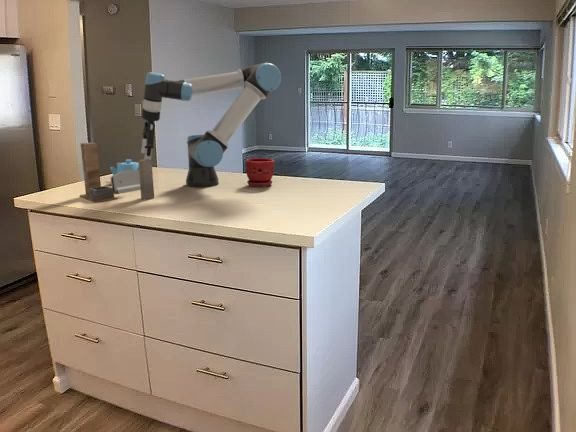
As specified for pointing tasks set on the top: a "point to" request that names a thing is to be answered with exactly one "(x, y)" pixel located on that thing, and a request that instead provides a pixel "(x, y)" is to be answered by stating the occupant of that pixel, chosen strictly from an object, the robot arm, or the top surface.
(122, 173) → the hinge
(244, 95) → the robot arm
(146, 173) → the grey rectangular block
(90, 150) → the dark brown bookend
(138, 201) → the top surface
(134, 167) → the teapot
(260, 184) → the plant pot
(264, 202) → the top surface
